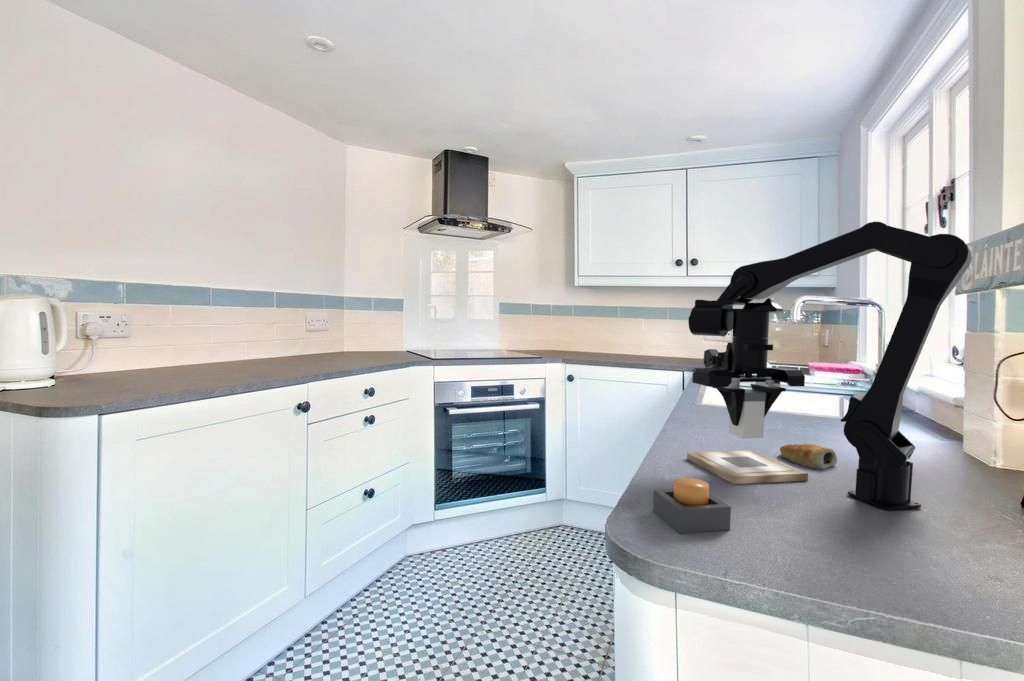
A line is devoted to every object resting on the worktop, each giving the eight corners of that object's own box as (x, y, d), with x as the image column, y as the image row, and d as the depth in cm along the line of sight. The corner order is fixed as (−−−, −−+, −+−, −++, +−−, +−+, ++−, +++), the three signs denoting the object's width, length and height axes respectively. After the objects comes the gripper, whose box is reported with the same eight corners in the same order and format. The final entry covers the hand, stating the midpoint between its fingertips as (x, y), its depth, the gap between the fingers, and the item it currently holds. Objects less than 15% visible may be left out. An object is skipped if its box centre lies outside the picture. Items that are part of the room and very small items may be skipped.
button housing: (698, 508, 69) (699, 487, 69) (729, 529, 63) (731, 506, 62) (653, 511, 68) (653, 489, 68) (679, 533, 61) (680, 509, 61)
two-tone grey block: (748, 432, 90) (750, 388, 90) (764, 437, 86) (766, 392, 86) (727, 432, 90) (729, 389, 89) (742, 438, 85) (744, 392, 85)
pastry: (771, 457, 97) (772, 438, 97) (792, 454, 100) (793, 435, 100) (819, 471, 89) (820, 450, 88) (841, 467, 92) (842, 447, 91)
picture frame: (752, 456, 96) (752, 449, 96) (807, 480, 83) (808, 472, 83) (686, 458, 94) (687, 451, 94) (733, 484, 80) (733, 475, 80)
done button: (696, 494, 68) (697, 477, 68) (715, 506, 64) (716, 488, 63) (667, 495, 67) (667, 478, 67) (684, 508, 63) (685, 489, 63)
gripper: (764, 336, 97) (761, 414, 97) (677, 335, 93) (674, 416, 94) (809, 339, 86) (804, 427, 87) (712, 338, 82) (708, 430, 83)
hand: (746, 425), depth 88 cm, fingers closed on two-tone grey block, 4 cm apart
